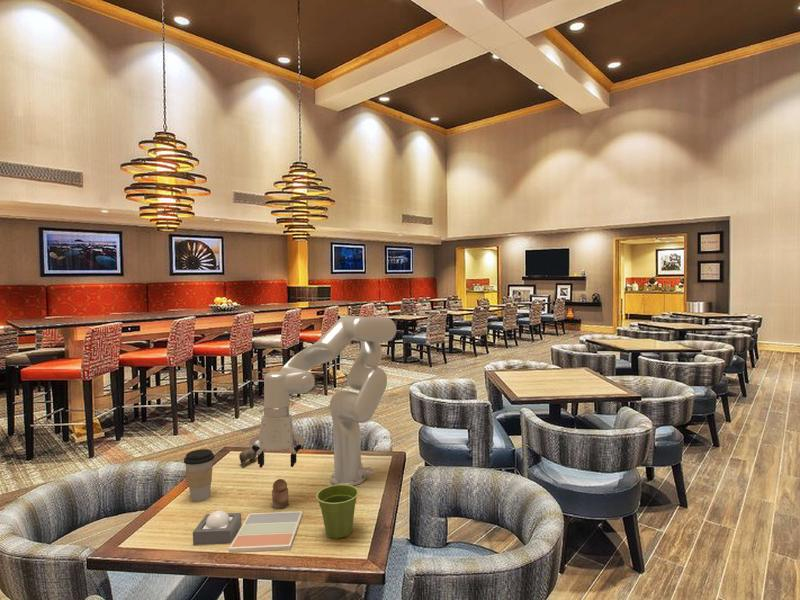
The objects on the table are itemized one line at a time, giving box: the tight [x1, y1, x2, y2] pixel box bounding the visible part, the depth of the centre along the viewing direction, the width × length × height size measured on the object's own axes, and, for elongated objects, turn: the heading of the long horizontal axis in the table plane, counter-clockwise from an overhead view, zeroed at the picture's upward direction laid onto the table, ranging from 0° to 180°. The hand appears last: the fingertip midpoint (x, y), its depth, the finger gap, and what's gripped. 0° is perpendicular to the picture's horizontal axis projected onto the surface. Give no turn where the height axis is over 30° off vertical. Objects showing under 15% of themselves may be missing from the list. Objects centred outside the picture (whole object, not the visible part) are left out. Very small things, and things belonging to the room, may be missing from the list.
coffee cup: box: [183, 448, 215, 503], centre depth 156 cm, size 9×9×15 cm
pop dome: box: [203, 510, 233, 529], centre depth 133 cm, size 6×6×6 cm
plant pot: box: [315, 484, 360, 540], centre depth 132 cm, size 12×12×11 cm
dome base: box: [192, 512, 243, 546], centre depth 133 cm, size 10×10×4 cm
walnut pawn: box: [271, 478, 290, 510], centre depth 149 cm, size 5×5×8 cm
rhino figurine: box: [238, 444, 260, 468], centre depth 188 cm, size 4×14×6 cm, turn 158°
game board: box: [228, 510, 304, 553], centre depth 133 cm, size 16×19×1 cm
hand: (277, 465), depth 148 cm, fingers open, 9 cm apart
